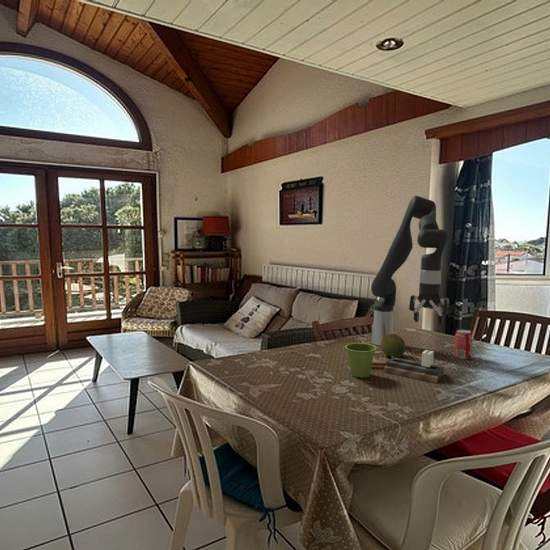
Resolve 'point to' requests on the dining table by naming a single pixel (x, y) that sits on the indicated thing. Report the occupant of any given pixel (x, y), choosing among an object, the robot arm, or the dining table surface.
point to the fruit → (392, 345)
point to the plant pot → (360, 358)
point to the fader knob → (427, 358)
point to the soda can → (463, 344)
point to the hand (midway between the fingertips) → (428, 323)
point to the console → (414, 369)
